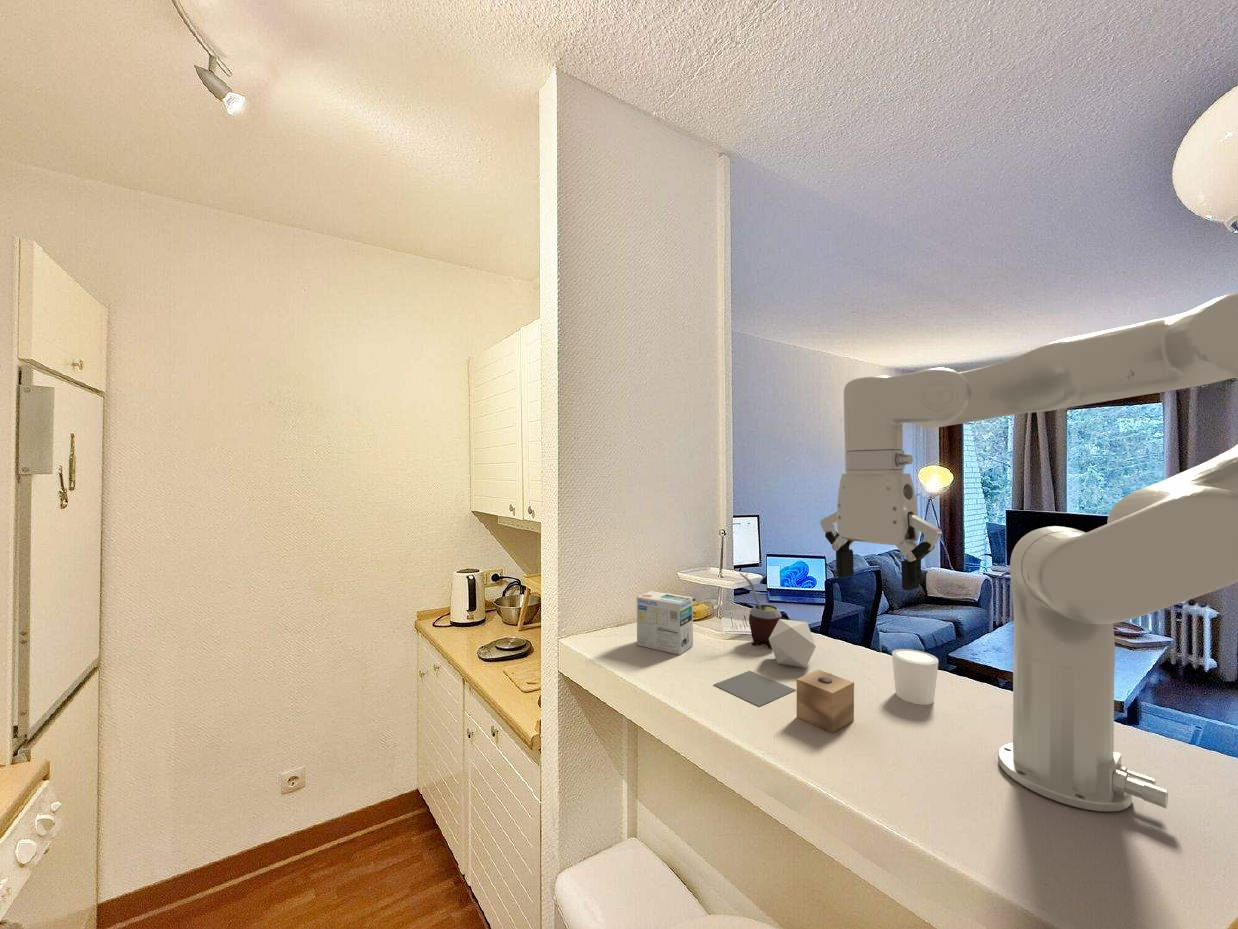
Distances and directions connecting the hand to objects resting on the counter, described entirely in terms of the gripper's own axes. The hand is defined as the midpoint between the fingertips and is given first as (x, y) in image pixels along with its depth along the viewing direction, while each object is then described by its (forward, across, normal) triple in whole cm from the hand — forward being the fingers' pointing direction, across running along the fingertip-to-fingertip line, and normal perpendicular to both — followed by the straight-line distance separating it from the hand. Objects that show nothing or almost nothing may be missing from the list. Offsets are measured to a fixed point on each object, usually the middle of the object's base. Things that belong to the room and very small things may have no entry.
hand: (876, 582), depth 73 cm
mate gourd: (+22, +35, -15) cm, 44 cm away
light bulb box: (+22, +46, +4) cm, 51 cm away
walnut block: (+22, +8, +2) cm, 24 cm away
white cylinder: (+23, +4, -18) cm, 29 cm away
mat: (+22, +21, +3) cm, 31 cm away
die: (+22, +25, -12) cm, 35 cm away
